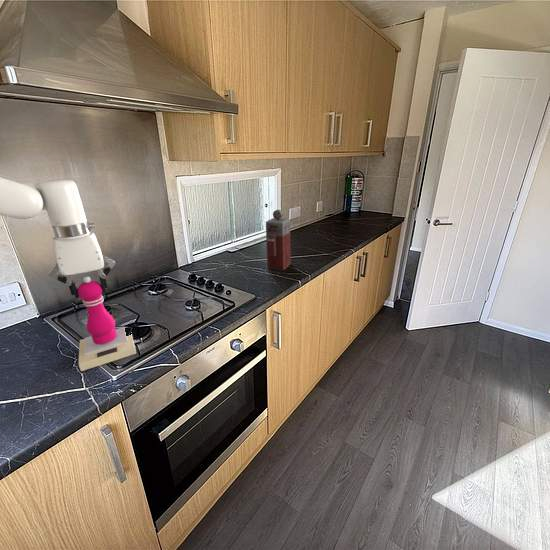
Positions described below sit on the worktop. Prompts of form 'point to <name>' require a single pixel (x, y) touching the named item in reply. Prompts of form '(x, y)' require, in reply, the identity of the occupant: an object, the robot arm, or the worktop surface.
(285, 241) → the red square decanter
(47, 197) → the robot arm
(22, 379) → the worktop surface
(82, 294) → the pepper mill
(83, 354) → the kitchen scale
